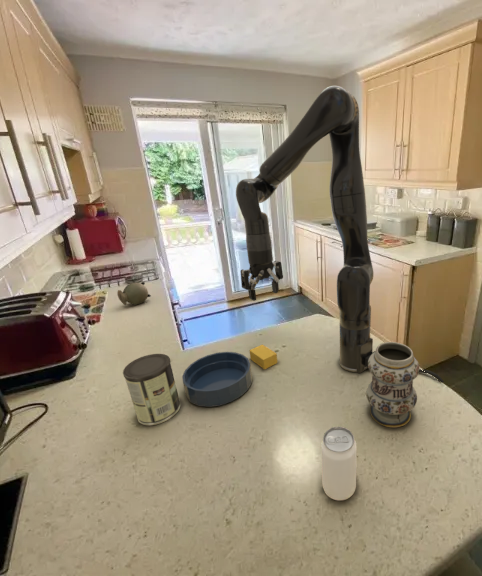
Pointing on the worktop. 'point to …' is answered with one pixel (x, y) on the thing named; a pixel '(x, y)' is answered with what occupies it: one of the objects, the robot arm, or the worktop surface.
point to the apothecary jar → (392, 384)
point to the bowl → (217, 379)
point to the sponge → (263, 356)
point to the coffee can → (152, 388)
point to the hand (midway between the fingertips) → (264, 296)
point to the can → (338, 463)
